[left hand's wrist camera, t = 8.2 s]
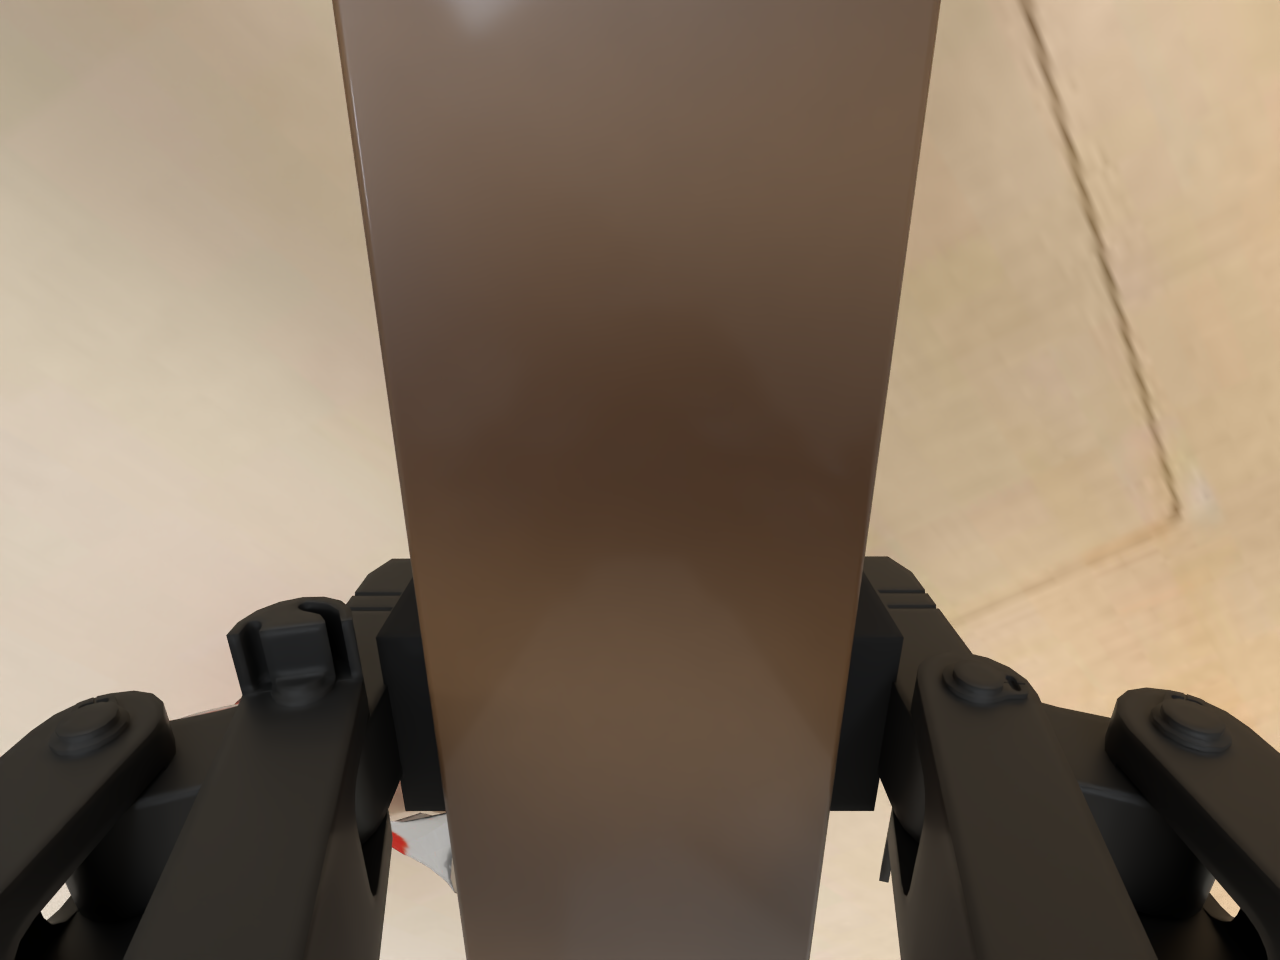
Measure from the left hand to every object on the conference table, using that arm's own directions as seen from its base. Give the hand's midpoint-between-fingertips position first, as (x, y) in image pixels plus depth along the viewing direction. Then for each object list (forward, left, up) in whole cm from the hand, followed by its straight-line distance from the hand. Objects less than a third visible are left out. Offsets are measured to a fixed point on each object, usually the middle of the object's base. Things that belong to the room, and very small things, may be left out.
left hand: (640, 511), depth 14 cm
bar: (-3, +29, -1) cm, 29 cm away
